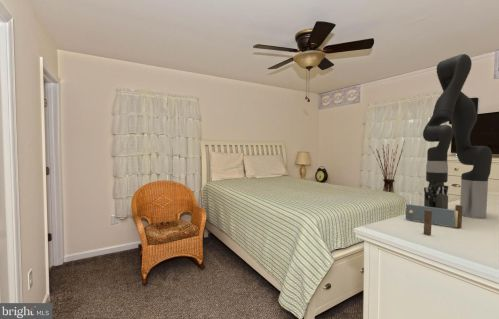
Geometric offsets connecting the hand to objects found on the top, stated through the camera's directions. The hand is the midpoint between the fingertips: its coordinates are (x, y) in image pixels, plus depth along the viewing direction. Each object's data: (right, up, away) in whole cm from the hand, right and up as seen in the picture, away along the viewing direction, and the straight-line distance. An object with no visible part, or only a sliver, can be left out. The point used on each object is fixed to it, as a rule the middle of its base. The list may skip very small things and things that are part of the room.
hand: (435, 209), depth 107 cm
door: (-7, -5, -5) cm, 10 cm away
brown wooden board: (-8, -6, -14) cm, 17 cm away
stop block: (0, -1, 0) cm, 1 cm away
